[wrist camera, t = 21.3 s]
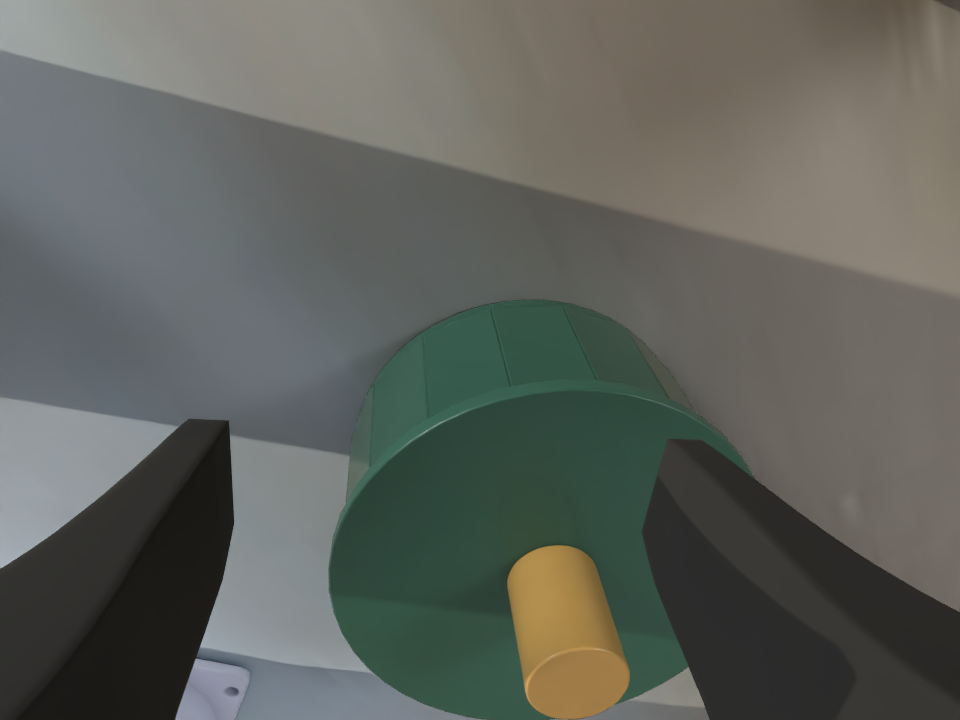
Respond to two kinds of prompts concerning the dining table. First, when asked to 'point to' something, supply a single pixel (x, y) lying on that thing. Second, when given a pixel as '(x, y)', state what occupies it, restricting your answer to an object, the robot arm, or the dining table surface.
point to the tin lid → (515, 552)
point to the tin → (498, 366)
